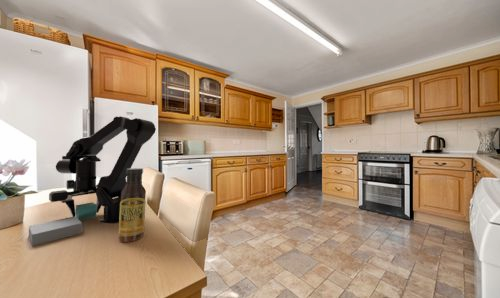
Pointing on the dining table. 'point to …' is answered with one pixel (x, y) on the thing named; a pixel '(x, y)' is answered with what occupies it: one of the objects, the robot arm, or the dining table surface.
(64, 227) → the gray plinth
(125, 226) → the sauce bottle
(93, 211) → the teal cube
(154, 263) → the dining table surface
